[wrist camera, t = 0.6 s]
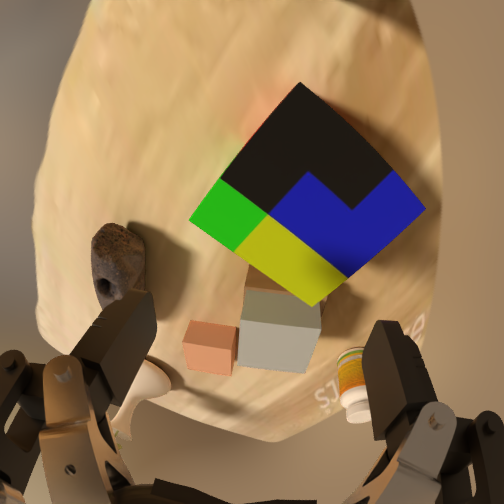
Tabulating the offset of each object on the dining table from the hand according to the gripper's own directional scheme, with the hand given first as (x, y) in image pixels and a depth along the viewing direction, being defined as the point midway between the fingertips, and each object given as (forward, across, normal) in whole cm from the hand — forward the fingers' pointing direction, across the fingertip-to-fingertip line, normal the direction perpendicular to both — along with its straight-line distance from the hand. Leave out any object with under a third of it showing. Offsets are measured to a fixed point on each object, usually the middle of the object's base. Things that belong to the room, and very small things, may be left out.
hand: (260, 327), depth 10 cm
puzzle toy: (+18, -2, -3) cm, 18 cm away
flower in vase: (+21, +20, +34) cm, 45 cm away
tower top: (+15, -2, +13) cm, 20 cm away
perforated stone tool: (+19, +16, +11) cm, 27 cm away
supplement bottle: (+20, -14, +22) cm, 33 cm away
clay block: (+20, +6, +21) cm, 30 cm away
